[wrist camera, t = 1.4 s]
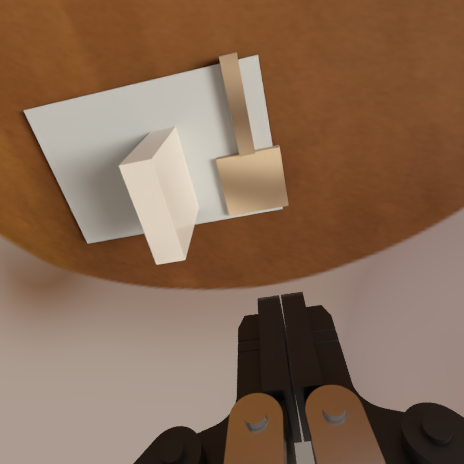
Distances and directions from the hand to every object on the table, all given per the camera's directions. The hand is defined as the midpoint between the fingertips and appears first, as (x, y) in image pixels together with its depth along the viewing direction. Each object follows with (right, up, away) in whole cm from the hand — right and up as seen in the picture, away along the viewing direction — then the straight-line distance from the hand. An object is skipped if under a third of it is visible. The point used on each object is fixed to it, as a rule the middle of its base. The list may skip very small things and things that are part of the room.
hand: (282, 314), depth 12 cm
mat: (-7, +9, +17) cm, 20 cm away
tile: (-6, +8, +17) cm, 19 cm away
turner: (-1, +10, +15) cm, 18 cm away
